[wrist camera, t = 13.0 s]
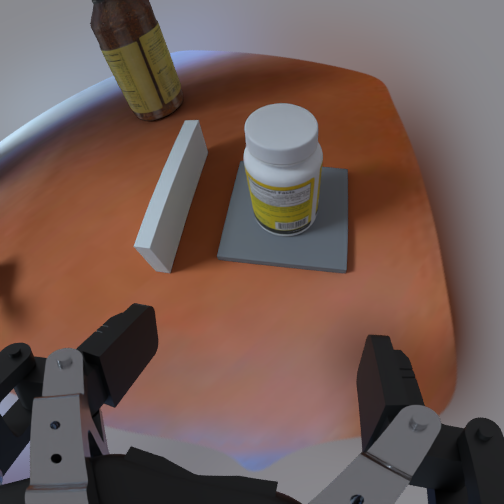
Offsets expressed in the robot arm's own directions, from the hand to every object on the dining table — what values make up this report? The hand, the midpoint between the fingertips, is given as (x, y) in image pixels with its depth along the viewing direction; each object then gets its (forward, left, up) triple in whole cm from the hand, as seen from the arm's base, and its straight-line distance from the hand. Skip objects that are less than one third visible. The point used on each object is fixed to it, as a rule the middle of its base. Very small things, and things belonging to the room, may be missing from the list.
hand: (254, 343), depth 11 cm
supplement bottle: (0, +11, -8) cm, 14 cm away
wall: (-9, +11, -9) cm, 17 cm away
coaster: (0, +11, -9) cm, 14 cm away
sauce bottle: (-16, +25, -9) cm, 31 cm away
